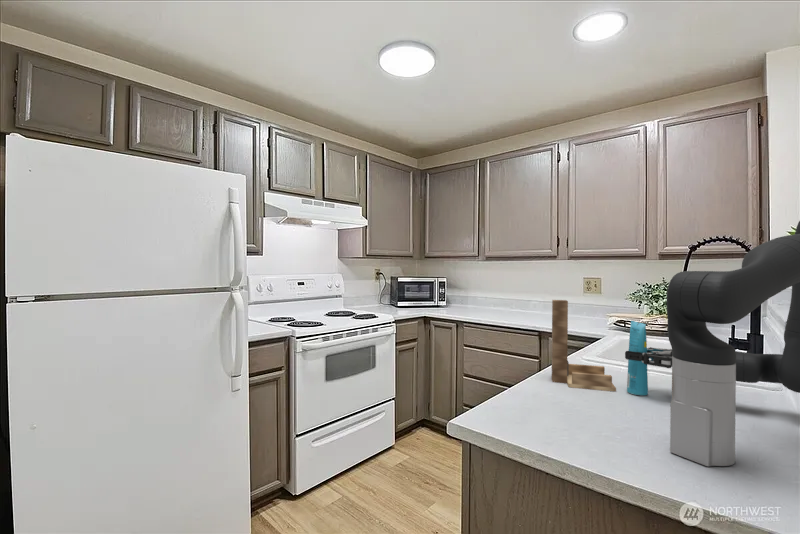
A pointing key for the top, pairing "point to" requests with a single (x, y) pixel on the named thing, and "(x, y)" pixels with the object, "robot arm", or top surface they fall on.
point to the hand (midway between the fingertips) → (627, 353)
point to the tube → (637, 369)
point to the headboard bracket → (560, 366)
